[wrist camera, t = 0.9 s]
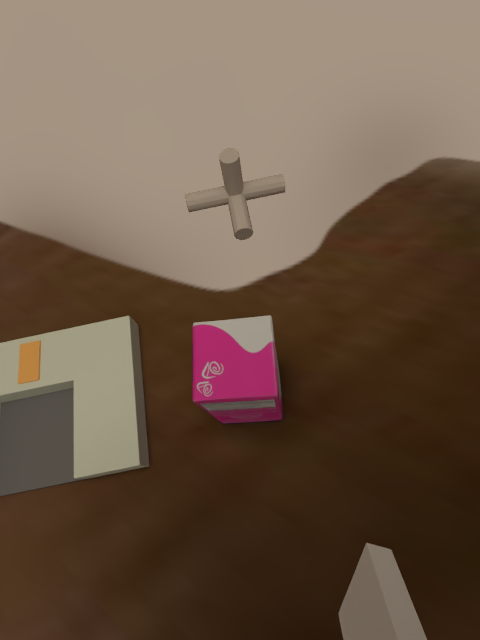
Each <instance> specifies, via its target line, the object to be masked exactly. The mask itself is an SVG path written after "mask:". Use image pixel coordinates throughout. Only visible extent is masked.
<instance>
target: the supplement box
mask: <svg viewBox="0 0 480 640" xmlns="http://www.w3.org/2000/svg"><path fill="white" fill-rule="evenodd" d="M193 402H195V403H196V404H197V405H199V406H200V407H201V408H203V409H204V410H205V411H207V412H208V413H209V414H211V415H212V416H213V417H215V418H216V419H217V420H218V421H220V422H221V423H222V424H228V423H246V422H264V421H278V420H282V418H283V411H282V396H281V384H280V374H279V366H278V360H277V354H276V347H275V339H274V331H273V324H272V316H270V315H269V316H259V317H250V318H241V319H231V320H221V321H209V322H198V323H194V324H193Z"/></svg>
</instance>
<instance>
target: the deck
mask: <svg viewBox="0 0 480 640" xmlns="http://www.w3.org/2000/svg"><path fill="white" fill-rule="evenodd" d="M148 466H149V454H148V442H147V429H146V417H145V404H144V391H143V379H142V366H141V353H140V341H139V328H138V324H137V323H136V322H135V321H134V320H133V319H132V318H131V317H130V316H125V317H120V318H116V319H111V320H106V321H102V322H97V323H92V324H88V325H83V326H78V327H74V328H69V329H64V330H59V331H55V332H50V333H45V334H41V335H36V336H31V337H27V338H22V339H17V340H13V341H8V342H3V343H0V496H5V495H10V494H15V493H20V492H25V491H29V490H34V489H39V488H44V487H49V486H54V485H59V484H64V483H69V482H74V481H79V480H84V479H89V478H94V477H99V476H104V475H108V474H113V473H118V472H123V471H128V470H133V469H138V468H143V467H148Z"/></svg>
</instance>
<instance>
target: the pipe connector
mask: <svg viewBox="0 0 480 640" xmlns="http://www.w3.org/2000/svg"><path fill="white" fill-rule="evenodd" d="M219 160H220V165H221V169H222V175H223V180H224V185H225V186H222V187H218V188H213V189H208V190H203V191H198V192H194V193H189V194H185V198H186V203H187V207H188V210H189V212H192V211H197V210H202V209H207V208H211V207H216V206H221V205H226V204H228V205H229V210H230V215H231V220H232V225H233V230H234V236H235V237H236V238H237V239H240V240H245V239H247V238H249V237H251V236H252V234H253V230H252V225H251V221H250V217H249V212H248V207H247V203H246V200H250V199H255V198H260V197H264V196H269V195H274V194H279V193H284V192H285V182H284V177H283V174H280V175H275V176H270V177H265V178H261V179H256V180H251V181H247V182H243V181H242V173H241V166H240V158H239V153H238V151H237V150H235V149H233V148H227V149H225V150H223V151H222V152H221V153H220V154H219Z"/></svg>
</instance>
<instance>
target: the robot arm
mask: <svg viewBox="0 0 480 640" xmlns="http://www.w3.org/2000/svg"><path fill="white" fill-rule="evenodd" d="M338 614H339V619H340V624H341V630H342V635H343V640H427V638H426V636H425V633H424V631H423V628H422V626H421V623H420V621H419V618H418V616H417V613H416V611H415V608H414V606H413V603H412V601H411V598H410V596H409V593H408V591H407V588H406V586H405V583H404V581H403V578H402V576H401V573H400V571H399V568H398V566H397V563H396V561H395V558H394V556H393V553H392V550H391V549H388V548H384V547H380V546H376V545H373V544H369V543H366V545H365V547H364V550H363V552H362V555H361V557H360V560H359V563H358V565H357V568H356V570H355V573H354V575H353V578H352V580H351V583H350V585H349V588H348V590H347V593H346V595H345V598H344V601H343V603H342V606H341V608H340V611H339V613H338Z"/></svg>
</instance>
